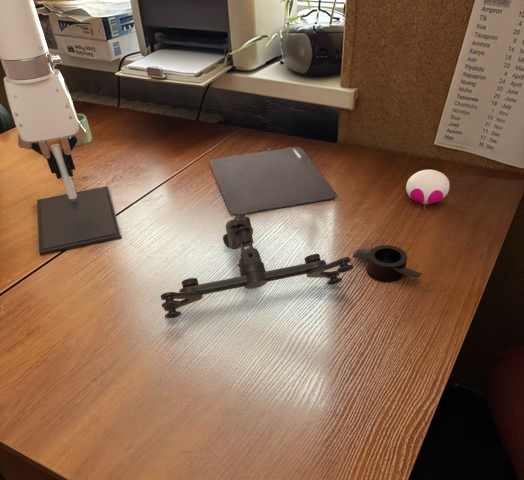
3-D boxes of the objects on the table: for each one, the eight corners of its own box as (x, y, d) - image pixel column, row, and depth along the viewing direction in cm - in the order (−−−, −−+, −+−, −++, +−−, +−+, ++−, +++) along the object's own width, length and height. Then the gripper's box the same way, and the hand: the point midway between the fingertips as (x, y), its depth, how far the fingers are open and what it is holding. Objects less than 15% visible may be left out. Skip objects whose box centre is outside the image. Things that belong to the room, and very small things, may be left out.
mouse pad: (339, 198, 96) (339, 197, 96) (230, 216, 93) (230, 215, 92) (300, 146, 113) (300, 145, 113) (208, 160, 110) (208, 159, 110)
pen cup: (63, 148, 119) (55, 124, 115) (69, 138, 123) (62, 114, 119) (90, 146, 119) (83, 122, 115) (94, 136, 123) (88, 112, 119)
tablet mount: (169, 331, 81) (161, 304, 65) (151, 249, 83) (139, 204, 67) (326, 298, 86) (355, 265, 69) (305, 221, 88) (329, 171, 71)
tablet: (38, 202, 100) (36, 199, 100) (108, 189, 103) (107, 185, 102) (40, 255, 87) (38, 252, 86) (121, 238, 89) (120, 234, 89)
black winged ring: (391, 249, 83) (394, 234, 81) (424, 283, 76) (427, 267, 74) (349, 259, 82) (350, 244, 80) (378, 295, 75) (380, 279, 73)
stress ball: (401, 219, 96) (402, 203, 89) (407, 181, 97) (409, 162, 90) (443, 223, 94) (447, 206, 87) (449, 183, 95) (453, 164, 88)
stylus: (69, 203, 98) (49, 147, 90) (70, 199, 99) (51, 143, 91) (77, 202, 98) (58, 146, 90) (79, 198, 99) (60, 143, 91)
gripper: (76, 54, 86) (105, 159, 99) (-21, 67, 83) (22, 174, 96) (79, 65, 80) (109, 175, 93) (-25, 80, 77) (21, 191, 90)
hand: (64, 174), depth 94 cm, fingers closed on stylus, 1 cm apart
